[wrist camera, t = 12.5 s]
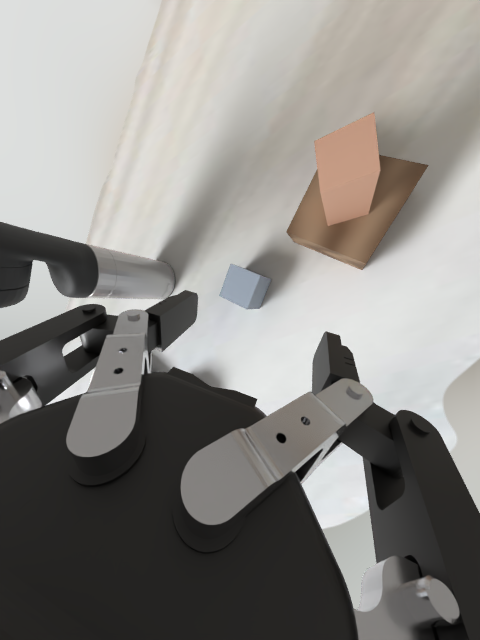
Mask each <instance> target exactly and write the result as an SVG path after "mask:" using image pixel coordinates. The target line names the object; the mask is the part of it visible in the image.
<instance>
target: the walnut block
mask: <svg viewBox="0 0 480 640" xmlns="http://www.w3.org/2000/svg"><path fill="white" fill-rule="evenodd" d="M379 161H380V173H379V177H378V181H377V184H376V188H375V192H374V195H373V199H372V203H371V206H370V210H369V214H367V215H364V216H361V217H357V218H354V219H350V220H347V221H344V222H340V223H337V224H333V225H330V226H328V224H327V220H326V216H325V211H324V207H323V202H322V198H321V193H320V186H319V177H318V169H317V171H316V173H315V175H314V177H313V179H312V181H311V183H310V185H309V187H308V189H307V191H306V193H305V195H304V197H303V199H302V201H301V203H300V205H299V207H298V209H297V211H296V213H295V215H294V218H293V220H292V222H291V224H290V226H289V228H288V230H287V233H288V235H289V236H290V237H291V239H292V240H293V241H294V242H295V243H298V244H300V245H303V246H305V247H308V248H310V249H312V250H315V251H317V252H320V253H322V254H324V255H327V256H329V257H332V258H334V259H337V260H339V261H341V262H344V263H346V264H349V265H351V266H353V267H356V268H358V269H361V270H362V269H363V268H364V266H365V265H366V263H367V262H368V260H369V258H370V257H371V255H372V254H373V252H374V251H375V249H376V247H377V246H378V244H379V243H380V241H381V239H382V238H383V236H384V235H385V233H386V232H387V230H388V228H389V227H390V225H391V224H392V222H393V221H394V219H395V217H396V216H397V214H398V213H399V211H400V209H401V208H402V206H403V205H404V203H405V202H406V200H407V198H408V197H409V195H410V194H411V192H412V191H413V189H414V187H415V186H416V184H417V183H418V181H419V180H420V178H421V176H422V175H423V173H424V172H425V170H426V168H427V167H428V165H425V164H420V163H415V162H410V161H405V160H401V159H396V158H391V157H386V156H381V155H379Z"/></svg>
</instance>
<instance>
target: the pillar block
mask: <svg viewBox="0 0 480 640" xmlns="http://www.w3.org/2000/svg"><path fill="white" fill-rule="evenodd" d="M314 143H315V152H316V160H317V169H318V177H319V186H320V193H321V198H322V202H323V207H324V211H325V216H326V220H327V224H328V226H330V225H333V224H337V223H340V222H344V221H347V220H350V219H354V218H357V217H361V216H364V215H367V214H369V210H370V206H371V203H372V199H373V195H374V192H375V188H376V184H377V181H378V177H379V173H380V161H379V152H378V143H377V133H376V124H375V115H374V113H371V114H369V115H367V116H365V117H363V118H361V119H359V120H357V121H355V122H353V123H351V124H349V125H347V126H345V127H343V128H341V129H338V130H336V131H334V132H332V133H330V134H328V135H326V136H324V137H322V138H320V139H318V140H316V141H314Z"/></svg>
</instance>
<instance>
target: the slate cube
mask: <svg viewBox="0 0 480 640" xmlns="http://www.w3.org/2000/svg"><path fill="white" fill-rule="evenodd" d="M271 280H272V279H270V278H267V277H265V276H262V275H260V274H257V273H255V272H252V271H250V270H247V269H245V268H242V267H239V266H236V265H233V264H230V267H229V270H228V273H227V275H226V278H225V281H224V284H223V287H222V290H221V292H220V295H219V296H221V297H223V298H225V299H227V300H229V301H231V302H233V303H235V304H237V305H239V306H241V307H243V308H245V309H259V308H260V306H261V304H262V301H263V299H264V297H265V294H266V292H267V289H268V287H269V284H270V282H271Z"/></svg>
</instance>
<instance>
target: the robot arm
mask: <svg viewBox="0 0 480 640" xmlns="http://www.w3.org/2000/svg"><path fill="white" fill-rule="evenodd" d="M33 260H39V261H44V262H46V264H47V266H48V269H49V272H50V275H51V278H52V281H53V283H54V285H55V286H56V288H57V290H58V291H59V292H60V293H61V294H63V295H64V296H67V297H73V298H124V299H164V300H163V301H161V302H159V303H158V304H156V305H154V306H152V307H150V308H149V309H147V310H145V311H143V310H128V311H125V312H122V313H121V314H120V315H119V316H114V315H107V314H106V309H105V307H104V306H102V305H98V304H88V305H83V306H79V307H77V308H75V309H72V310H70V311H68V312H65V313H63V314H61V315H59V316H57V317H54V318H51V319H49V320H47V321H45V322H42V323H40V324H38V325H35V326H33V327H31V328H29V329H26V330H24V331H22V332H19V333H17V334H15V335H12V336H10V337H8V338H5V339H3V340H1V341H0V640H480V513H479V511H478V509H477V507H476V505H475V503H474V501H473V499H472V497H471V495H470V494H469V491H468V489H467V487H466V485H465V484H464V481H463V479H462V477H461V475H460V473H459V471H458V469H457V467H456V465H455V463H454V461H453V459H452V457H451V455H450V453H449V451H448V449H447V447H446V445H445V443H444V441H443V439H442V437H441V435H440V434H439V432H438V431H437V429H436V428H435V427H434V426H433V425H432V424H431V423H430V422H428V421H427V420H426V419H424V418H423V417H421V416H420V415H418V414H416V413H414V412H411V411H407V410H400V411H398V412H397V414H396V415H394V414H392V413H390V412H388V411H387V410H385V409H383V408H381V407H380V406H378V405H376V404H375V403H374V402H373V396H372V394H371V393H370V391H369V390H368V389H367V388H366V387H365V386H363V385H362V384H360V381H359V377H358V373H357V369H356V367H355V366H356V365H355V361H354V358H353V354H352V352H351V351H350V350H349V349H348V347H346V346H343V345H341V339H340V336H339V335H336V334H333V333H329V332H325V333H324V334H323V337H322V339H321V341H320V343H319V346H318V348H317V350H316V352H315V355H314V359H313V373H312V392H308V393H306V394H304V395H302V396H301V397H299V398H297V399H296V400H294V401H292V402H291V403H289V404H287V405H285V406H284V407H282V408H280V409H279V410H277V411H275V412H274V413H272V414H270V415H268V416H266V415H265V414H264V413H263V412H262V411H261V410H260V409H258V408H257V407H255V405H256V401H257V399H256V398H253V397H251V396H248V395H245V394H243V393H240V392H237V391H234V390H228V389H222V388H215V387H211V386H209V385H207V384H206V383H204V382H203V381H202V380H200V379H199V378H197V377H196V376H194V375H193V374H190V373H188V372H185V371H183V370H180V369H177V368H175V367H173V368H172V369H171V370H170V371H169V372H168V373H166V372H154V373H151V363H152V352H151V351H152V350H153V349H155V350H158V351H161V352H163V351H164V350H165V349H166V348H167V347H168V346H169V345H170V344H171V343H173V342H174V341H175V340H176V339H177V338H178V337H179V336H180V335H181V334H183V333H184V332H185V331H186V330H187V329H188V328H189V327H190V326H191V325H192V324H194V322H195V320H196V317H197V305H198V295H197V293H194V292H190V291H187V290H185V291H183V292H181V293H180V294H178V295H175V296H171V297H168V296H169V295H170V294H171V293H172V291H173V289H174V285H175V276H174V272H173V270H172V268H171V267H170V266H169V265H168V264H167V263H165V262H161V261H157V260H153V259H149V258H144V257H140V256H136V255H131V254H127V253H122V252H118V251H114V250H109V249H105V248H100V247H96V246H92V245H87V244H83V243H78V242H74V241H70V240H67V239H63V238H59V237H56V236H52V235H48V234H43V233H39V232H35V231H32V230H28V229H24V228H20V227H17V226H13V225H9V224H6V223H2V222H0V308H3V307H7V306H11V305H15V304H17V303H19V302H20V301H22V300H23V299H24V298H25V296H26V294H27V292H28V288H29V283H30V276H31V269H32V262H33ZM167 297H168V298H167ZM165 298H166V299H165ZM78 336H80V338H81V342H82V346H80V347H79V348H77V349H75V350H74V351H72V352H71V353H69V354H67V355H66V356H64V357H63V354H62V349H63V347H64V345H65V344H66V343H68V342H70V341H71V340H73V339H75V338H77V337H78ZM95 367H96V368H95ZM94 368H95V371H94V374H93V377H92V380H91V383H90V386H89V388H88V391H87V392H86V393H84V394H81V395H77V396H74V397H71V398H68V399H65V400H62V401H59V402H55V403H52V404H49V405H46V404H48V403H49V402H50V401H52V400H53V399H54V398H55V397H57V396H58V395H59V394H61V393H62V392H63V391H65V390H66V389H67V388H69V387H70V386H71V385H73V384H74V383H75V382H76V381H78V380H79V379H80V378H82V377H83V376H84V375H86V374H87V373H88V372H90V371H91V370H92V369H94ZM45 405H46V406H45ZM342 443H344V444H345V445H347V446H348V447H350V448H351V449H352V450H354V451H355V452H357V453H358V454H360V455H361V456H362V457H363V463H364V471H365V478H366V486H367V493H368V501H369V509H370V516H371V524H372V531H373V538H374V547H375V554H376V562H377V564H375V565H373V566H371V567H369V568H368V569H367V570H366V571H365V573H364V575H363V577H362V586H361V587H362V588H361V600H360V604H359V607H358V609H357V610H356V609H354V608H353V605H352V601H351V598H350V595H349V591H348V588H347V585H346V583H345V580H344V577H343V575H342V573H341V570H340V568H339V566H338V564H337V562H336V559H335V557H334V555H333V553H332V551H331V549H330V546H329V544H328V542H327V540H326V538H325V535H324V533H323V531H322V529H321V527H320V524H319V522H318V520H317V518H316V516H315V513H314V511H313V509H312V507H311V505H310V503H309V500H308V498H307V496H306V494H305V492H304V489H303V487H302V485H301V484H302V483H303V482H304V481H305V480H306V479H307V478H308V477H309V476H310V475H311V474H312V472H313V471H314V470H315V469H316V468H317V467H318V466H319V465H320V464H321V463H322V462H323V461H324V460H325V459H326V458H327V457H328V456H329V455H330V454H331V453H333V452H334V451H335V450H336V449H337V448H338V447H339V446H340V445H341V444H342Z"/></svg>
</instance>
